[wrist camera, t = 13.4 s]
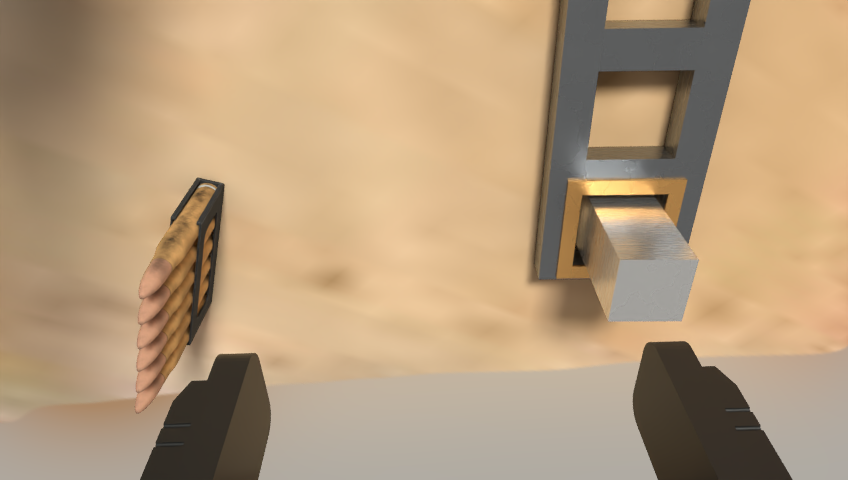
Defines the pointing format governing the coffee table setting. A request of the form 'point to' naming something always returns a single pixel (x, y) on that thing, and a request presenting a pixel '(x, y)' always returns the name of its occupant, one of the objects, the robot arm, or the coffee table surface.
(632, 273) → the grey metal block
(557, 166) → the grey peg board
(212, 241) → the ammunition clip
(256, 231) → the coffee table surface
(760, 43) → the coffee table surface
